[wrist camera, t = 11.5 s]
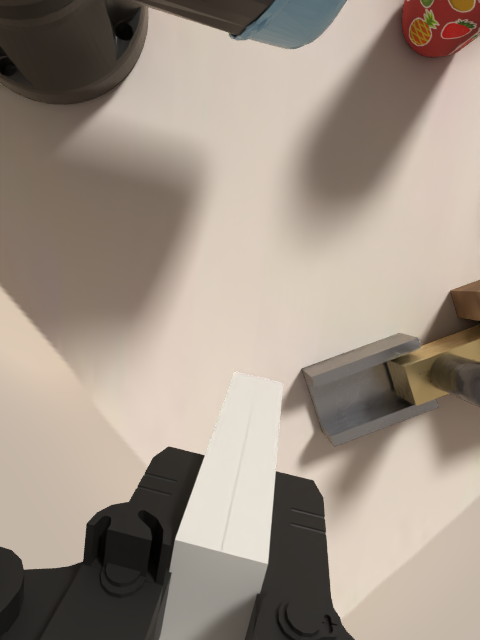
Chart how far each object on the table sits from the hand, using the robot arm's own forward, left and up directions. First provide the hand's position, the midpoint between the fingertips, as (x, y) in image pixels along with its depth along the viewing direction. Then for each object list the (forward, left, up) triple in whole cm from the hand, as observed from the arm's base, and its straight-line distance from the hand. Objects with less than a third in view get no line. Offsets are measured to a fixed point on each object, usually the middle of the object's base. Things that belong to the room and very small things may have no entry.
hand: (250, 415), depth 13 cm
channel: (+10, +11, -26) cm, 30 cm away
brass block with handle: (+10, +20, -24) cm, 33 cm away
